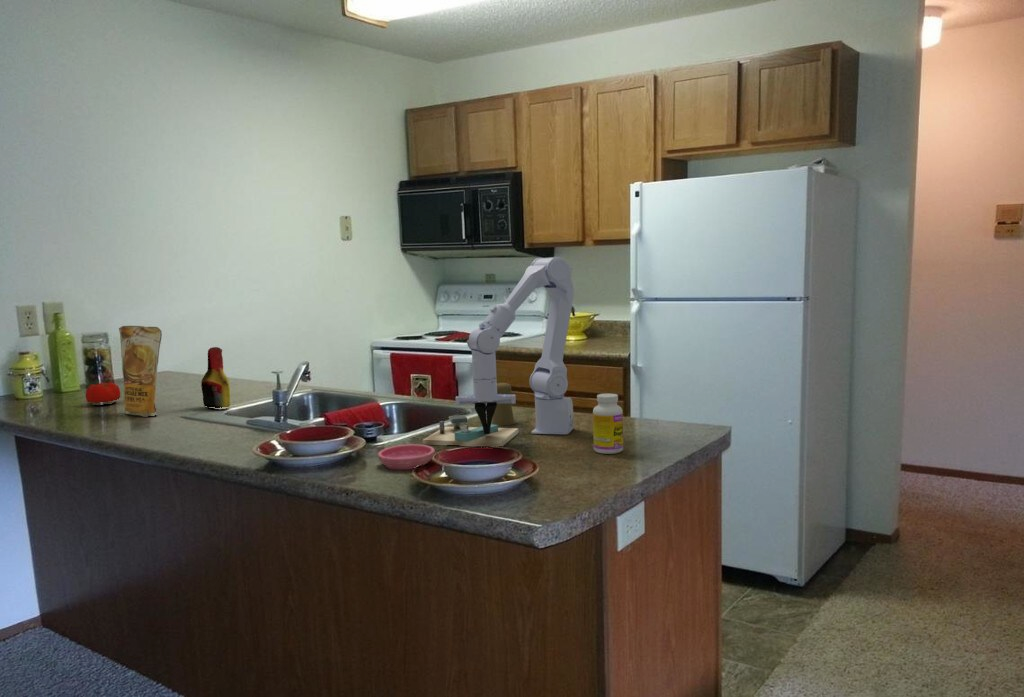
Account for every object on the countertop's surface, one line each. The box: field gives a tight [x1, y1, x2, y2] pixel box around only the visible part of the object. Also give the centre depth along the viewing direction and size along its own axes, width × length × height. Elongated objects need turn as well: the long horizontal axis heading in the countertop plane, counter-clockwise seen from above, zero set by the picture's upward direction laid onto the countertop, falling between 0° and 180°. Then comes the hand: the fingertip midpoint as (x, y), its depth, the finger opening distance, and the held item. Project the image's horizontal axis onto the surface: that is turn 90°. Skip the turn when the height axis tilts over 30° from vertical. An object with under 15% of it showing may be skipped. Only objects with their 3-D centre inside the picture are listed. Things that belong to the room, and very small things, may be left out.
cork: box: [491, 382, 515, 427], centre depth 206 cm, size 6×6×11 cm
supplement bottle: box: [592, 393, 624, 455], centre depth 172 cm, size 7×7×13 cm
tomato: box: [85, 381, 121, 403], centre depth 262 cm, size 11×11×8 cm
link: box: [455, 423, 499, 441], centre depth 188 cm, size 13×4×2 cm, turn 144°
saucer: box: [377, 443, 436, 471], centre depth 168 cm, size 12×12×3 cm
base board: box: [422, 426, 520, 447], centre depth 190 cm, size 20×15×1 cm
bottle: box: [200, 346, 231, 408], centre depth 244 cm, size 12×6×20 cm, turn 52°
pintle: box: [461, 424, 469, 433], centre depth 184 cm, size 1×1×3 cm
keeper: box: [438, 414, 468, 434], centre depth 194 cm, size 6×7×5 cm
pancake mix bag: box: [118, 325, 163, 413], centre depth 239 cm, size 7×19×28 cm, turn 57°
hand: (487, 433), depth 186 cm, fingers closed
